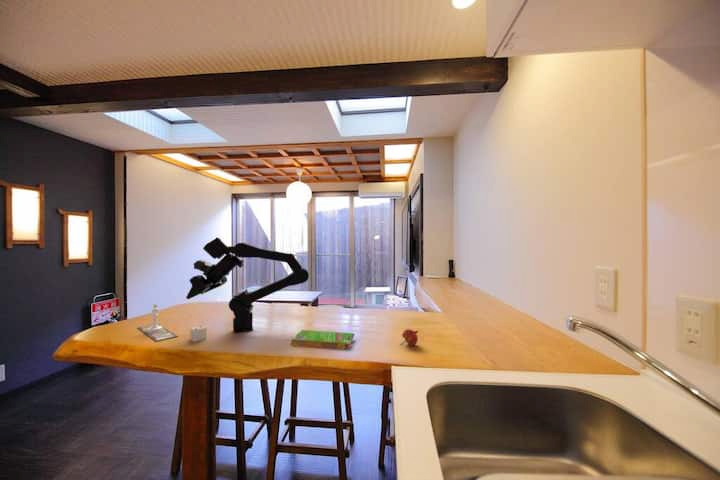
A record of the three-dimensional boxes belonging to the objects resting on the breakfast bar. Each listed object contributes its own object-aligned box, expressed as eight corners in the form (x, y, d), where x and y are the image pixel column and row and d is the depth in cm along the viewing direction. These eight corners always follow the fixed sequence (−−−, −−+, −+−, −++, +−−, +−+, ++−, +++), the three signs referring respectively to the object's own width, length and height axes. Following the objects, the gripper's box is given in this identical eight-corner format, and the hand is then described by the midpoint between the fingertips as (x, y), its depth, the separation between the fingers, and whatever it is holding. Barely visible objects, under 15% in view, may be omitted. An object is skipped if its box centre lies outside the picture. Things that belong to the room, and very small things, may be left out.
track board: (177, 336, 95) (177, 335, 95) (156, 341, 90) (156, 341, 90) (157, 324, 109) (157, 323, 109) (137, 328, 104) (137, 327, 104)
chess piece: (165, 328, 103) (166, 303, 103) (152, 332, 98) (152, 306, 98) (156, 327, 104) (157, 302, 104) (143, 331, 100) (143, 304, 100)
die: (202, 336, 96) (203, 325, 96) (206, 339, 93) (206, 327, 93) (190, 339, 93) (190, 327, 93) (193, 342, 91) (193, 330, 91)
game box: (302, 337, 99) (355, 338, 95) (291, 348, 89) (349, 350, 86) (301, 329, 99) (355, 330, 95) (290, 339, 89) (349, 340, 86)
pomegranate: (405, 354, 87) (424, 340, 86) (394, 339, 88) (413, 326, 87) (404, 349, 92) (422, 336, 92) (395, 335, 93) (412, 323, 93)
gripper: (219, 251, 112) (192, 277, 111) (195, 253, 93) (162, 285, 92) (238, 270, 112) (211, 296, 111) (218, 276, 94) (185, 307, 93)
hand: (194, 295), depth 102 cm, fingers open, 9 cm apart
